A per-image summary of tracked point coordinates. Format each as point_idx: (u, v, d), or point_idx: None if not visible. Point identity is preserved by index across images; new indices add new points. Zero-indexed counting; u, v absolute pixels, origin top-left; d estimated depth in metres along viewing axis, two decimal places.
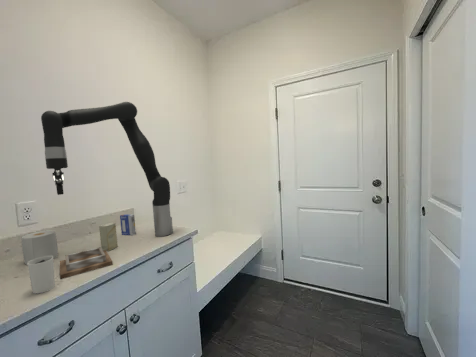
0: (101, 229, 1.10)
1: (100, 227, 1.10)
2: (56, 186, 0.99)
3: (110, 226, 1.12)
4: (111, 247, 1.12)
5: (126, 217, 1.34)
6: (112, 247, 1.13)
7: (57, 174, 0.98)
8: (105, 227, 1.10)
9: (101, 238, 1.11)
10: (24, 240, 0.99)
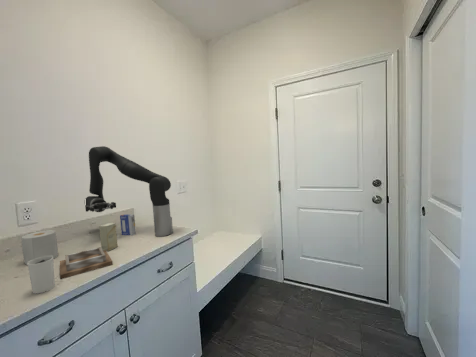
0: (101, 229, 1.10)
1: (100, 227, 1.10)
2: None
3: (110, 226, 1.12)
4: (111, 247, 1.12)
5: (126, 217, 1.34)
6: (112, 247, 1.13)
7: (85, 208, 1.23)
8: (105, 227, 1.10)
9: (101, 238, 1.11)
10: (24, 240, 0.99)
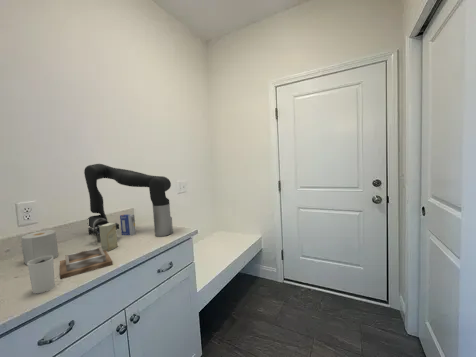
0: (101, 229, 1.10)
1: (100, 227, 1.10)
2: None
3: (110, 226, 1.12)
4: (111, 247, 1.12)
5: (126, 217, 1.34)
6: (112, 247, 1.13)
7: (88, 231, 1.22)
8: (105, 227, 1.10)
9: (101, 238, 1.11)
10: (24, 240, 0.99)
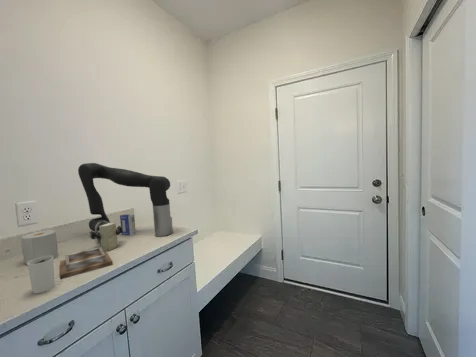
0: (101, 229, 1.10)
1: (100, 227, 1.10)
2: None
3: (110, 226, 1.12)
4: (111, 247, 1.12)
5: (126, 217, 1.34)
6: (112, 247, 1.13)
7: (90, 235, 1.14)
8: (105, 227, 1.10)
9: (101, 238, 1.11)
10: (24, 240, 0.99)
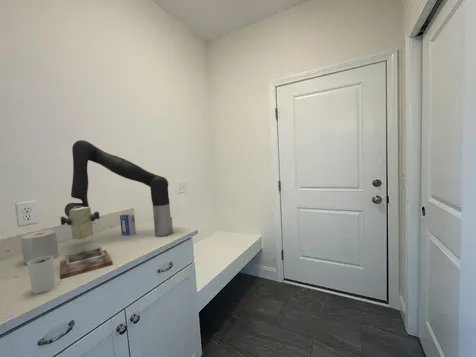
0: (72, 213, 0.92)
1: (70, 211, 0.93)
2: None
3: (83, 210, 0.94)
4: (84, 236, 0.94)
5: (126, 217, 1.34)
6: (85, 235, 0.95)
7: None
8: (76, 211, 0.92)
9: (72, 224, 0.93)
10: (24, 240, 0.99)
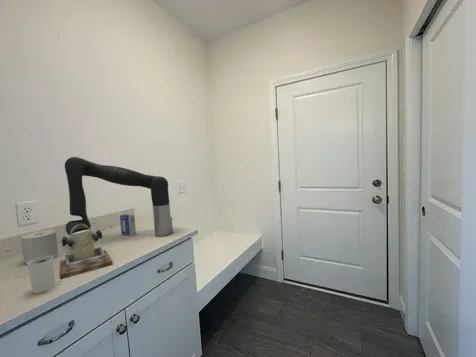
0: (73, 237, 0.93)
1: (72, 235, 0.93)
2: None
3: (84, 233, 0.95)
4: None
5: (126, 217, 1.34)
6: (88, 258, 0.95)
7: None
8: (78, 234, 0.93)
9: (74, 248, 0.93)
10: (24, 240, 0.99)
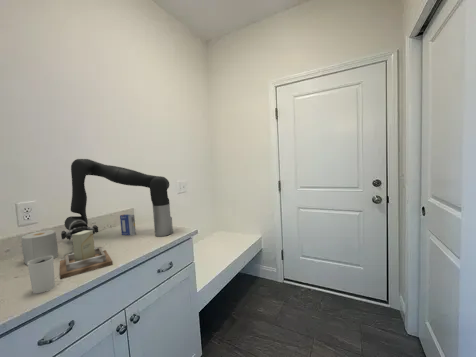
0: (74, 238, 0.93)
1: (73, 236, 0.93)
2: None
3: (85, 234, 0.94)
4: None
5: (126, 217, 1.34)
6: None
7: None
8: (79, 236, 0.92)
9: (74, 249, 0.93)
10: (24, 240, 0.99)
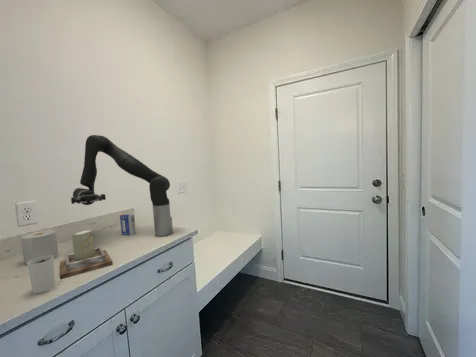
0: (74, 238, 0.93)
1: (73, 236, 0.93)
2: None
3: (85, 234, 0.94)
4: None
5: (126, 217, 1.34)
6: None
7: None
8: (79, 236, 0.92)
9: (74, 249, 0.93)
10: (24, 240, 0.99)
